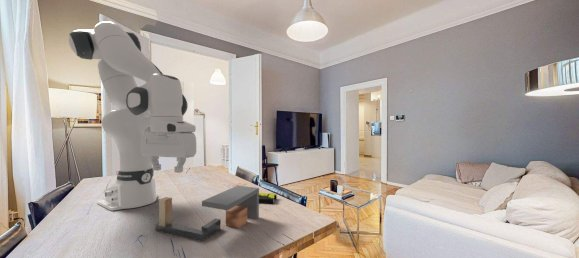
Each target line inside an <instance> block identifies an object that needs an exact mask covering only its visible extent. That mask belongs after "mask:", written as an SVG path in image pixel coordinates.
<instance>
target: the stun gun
mask: <svg viewBox="0 0 579 258" xmlns="http://www.w3.org/2000/svg"><path fill="white" fill-rule="evenodd" d="M277 196H278V195H277V193H271V192H259V204H266V205H268V204H270V205H274V204H275V202H276V200H277V198H278V197H277Z"/></svg>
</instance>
